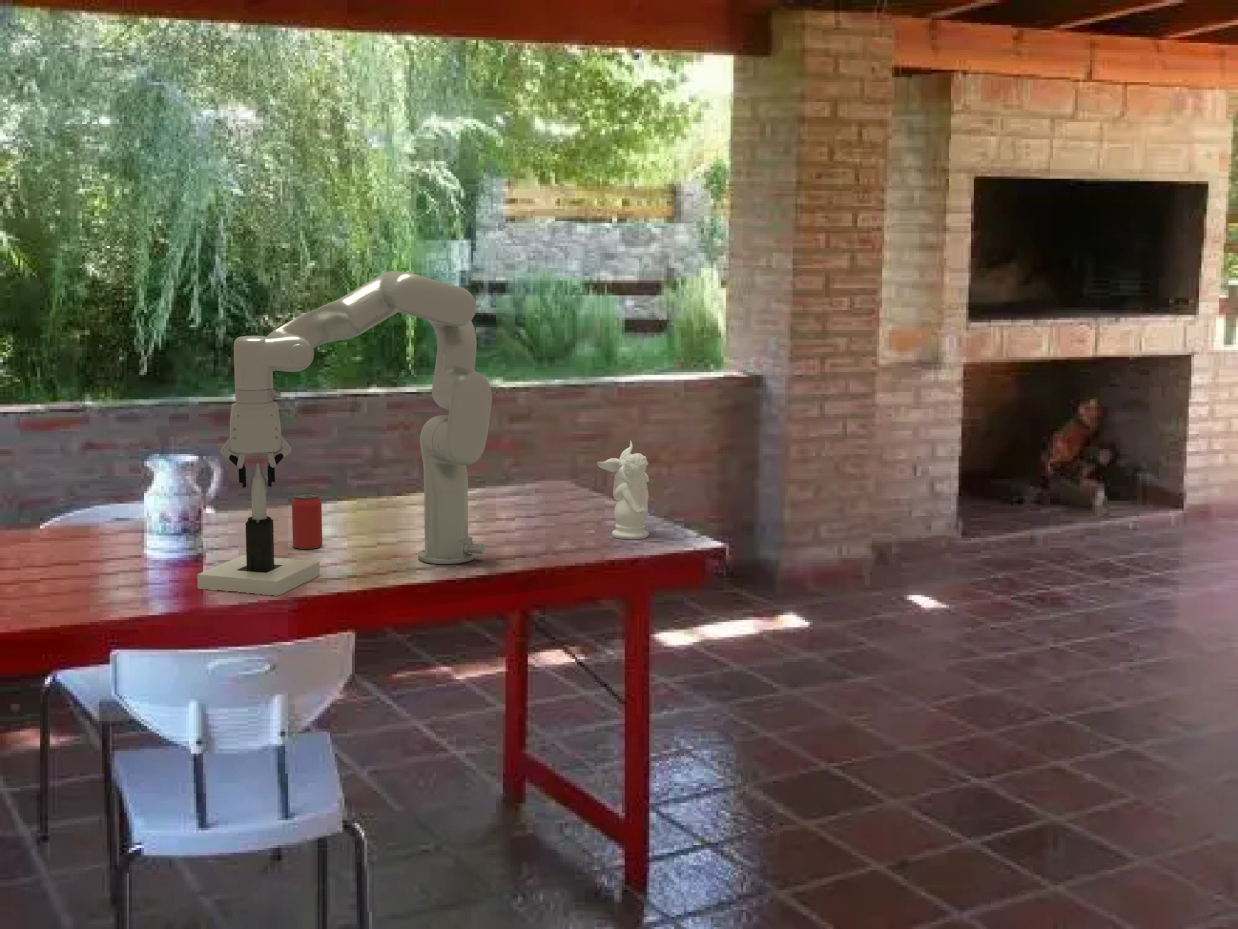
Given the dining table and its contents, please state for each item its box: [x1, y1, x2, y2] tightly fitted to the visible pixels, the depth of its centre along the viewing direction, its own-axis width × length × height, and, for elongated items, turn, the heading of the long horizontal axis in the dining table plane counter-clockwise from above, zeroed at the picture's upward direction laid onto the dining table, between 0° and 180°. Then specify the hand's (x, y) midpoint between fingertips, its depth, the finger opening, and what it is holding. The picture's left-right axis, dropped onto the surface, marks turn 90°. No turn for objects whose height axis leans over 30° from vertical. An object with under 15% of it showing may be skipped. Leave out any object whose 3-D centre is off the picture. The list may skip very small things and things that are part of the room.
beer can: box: [291, 492, 323, 550], centre depth 354 cm, size 7×7×12 cm
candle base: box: [196, 554, 321, 597], centre depth 322 cm, size 18×18×3 cm
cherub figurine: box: [596, 440, 650, 540], centre depth 368 cm, size 12×12×22 cm
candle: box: [245, 462, 275, 573], centre depth 321 cm, size 5×5×25 cm
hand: (257, 485), depth 319 cm, fingers open, 4 cm apart
